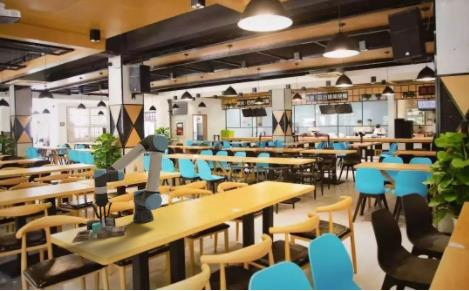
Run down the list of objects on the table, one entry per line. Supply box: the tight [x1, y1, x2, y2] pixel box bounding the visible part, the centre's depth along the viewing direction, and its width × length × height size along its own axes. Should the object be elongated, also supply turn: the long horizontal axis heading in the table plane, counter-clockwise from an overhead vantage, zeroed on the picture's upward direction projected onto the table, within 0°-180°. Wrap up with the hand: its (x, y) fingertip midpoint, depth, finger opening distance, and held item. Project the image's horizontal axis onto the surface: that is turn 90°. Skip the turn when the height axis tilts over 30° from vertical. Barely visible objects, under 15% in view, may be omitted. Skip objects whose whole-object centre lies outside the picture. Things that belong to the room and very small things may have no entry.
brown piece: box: [75, 219, 126, 242], centre depth 234 cm, size 29×12×9 cm, turn 106°
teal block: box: [92, 223, 102, 233], centre depth 233 cm, size 5×5×5 cm
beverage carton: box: [85, 216, 117, 231], centre depth 252 cm, size 8×19×7 cm, turn 116°
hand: (103, 228), depth 235 cm, fingers closed
